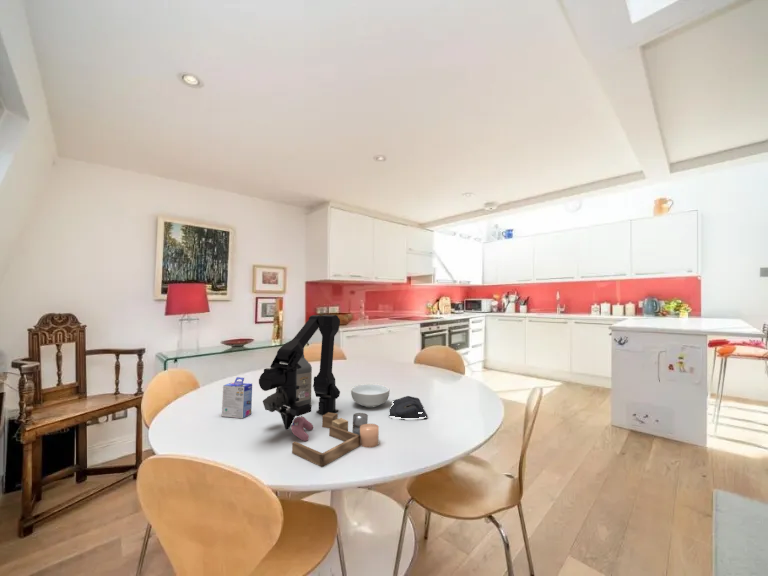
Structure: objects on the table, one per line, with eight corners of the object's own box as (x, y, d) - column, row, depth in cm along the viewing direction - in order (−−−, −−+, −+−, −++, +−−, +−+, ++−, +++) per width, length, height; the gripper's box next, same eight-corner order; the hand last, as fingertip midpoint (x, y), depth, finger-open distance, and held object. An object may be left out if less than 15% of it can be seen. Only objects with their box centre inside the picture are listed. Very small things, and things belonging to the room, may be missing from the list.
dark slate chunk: (424, 403, 139) (423, 392, 139) (428, 422, 117) (428, 409, 117) (390, 402, 140) (390, 391, 140) (388, 421, 118) (388, 408, 118)
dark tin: (356, 429, 109) (357, 411, 109) (369, 431, 107) (370, 414, 107) (349, 434, 104) (350, 416, 104) (363, 437, 102) (363, 419, 102)
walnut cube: (328, 423, 114) (328, 412, 115) (337, 424, 113) (337, 413, 113) (322, 427, 111) (322, 415, 111) (331, 428, 109) (331, 417, 109)
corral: (331, 434, 104) (331, 425, 104) (360, 445, 96) (360, 435, 97) (292, 452, 91) (292, 442, 92) (321, 466, 84) (322, 455, 84)
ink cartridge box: (252, 413, 124) (253, 377, 124) (243, 418, 118) (244, 380, 119) (230, 412, 125) (231, 376, 126) (221, 417, 120) (222, 379, 121)
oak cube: (341, 429, 109) (341, 417, 109) (348, 432, 106) (348, 421, 106) (331, 432, 106) (331, 420, 106) (338, 436, 103) (338, 424, 103)
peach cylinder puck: (368, 437, 102) (368, 422, 103) (382, 442, 99) (382, 426, 99) (355, 443, 98) (355, 427, 98) (370, 449, 94) (370, 432, 94)
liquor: (313, 405, 134) (314, 336, 136) (293, 409, 128) (294, 337, 130) (303, 400, 141) (304, 334, 143) (284, 404, 135) (285, 335, 137)
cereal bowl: (359, 413, 124) (360, 396, 124) (345, 402, 139) (345, 386, 139) (396, 407, 132) (396, 390, 132) (379, 396, 147) (379, 381, 147)
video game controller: (302, 433, 108) (294, 415, 108) (314, 427, 109) (305, 409, 109) (296, 446, 98) (286, 427, 99) (309, 440, 99) (299, 420, 99)
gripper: (251, 383, 106) (250, 430, 105) (284, 394, 94) (283, 445, 94) (280, 377, 115) (279, 420, 114) (312, 386, 103) (312, 433, 103)
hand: (287, 429), depth 106 cm, fingers closed
